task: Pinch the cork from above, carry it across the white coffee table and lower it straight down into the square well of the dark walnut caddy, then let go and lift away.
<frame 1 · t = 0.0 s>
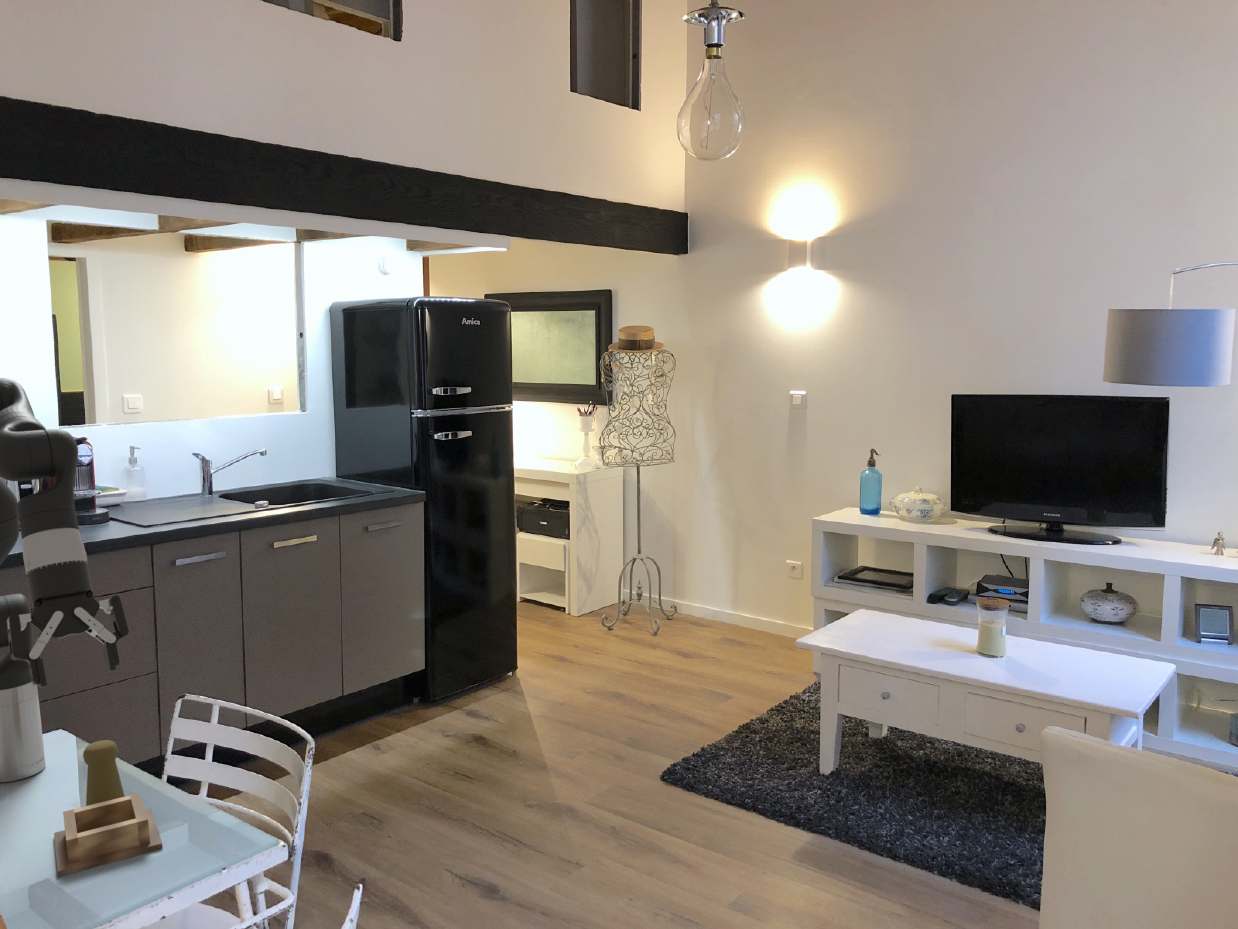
hand: (77, 679, 132), 31 cm above the table, tool tilted 20°, fingers open, 8 cm apart
shaker caddy: (107, 842, 150), on the table
cork: (106, 806, 163), on the table
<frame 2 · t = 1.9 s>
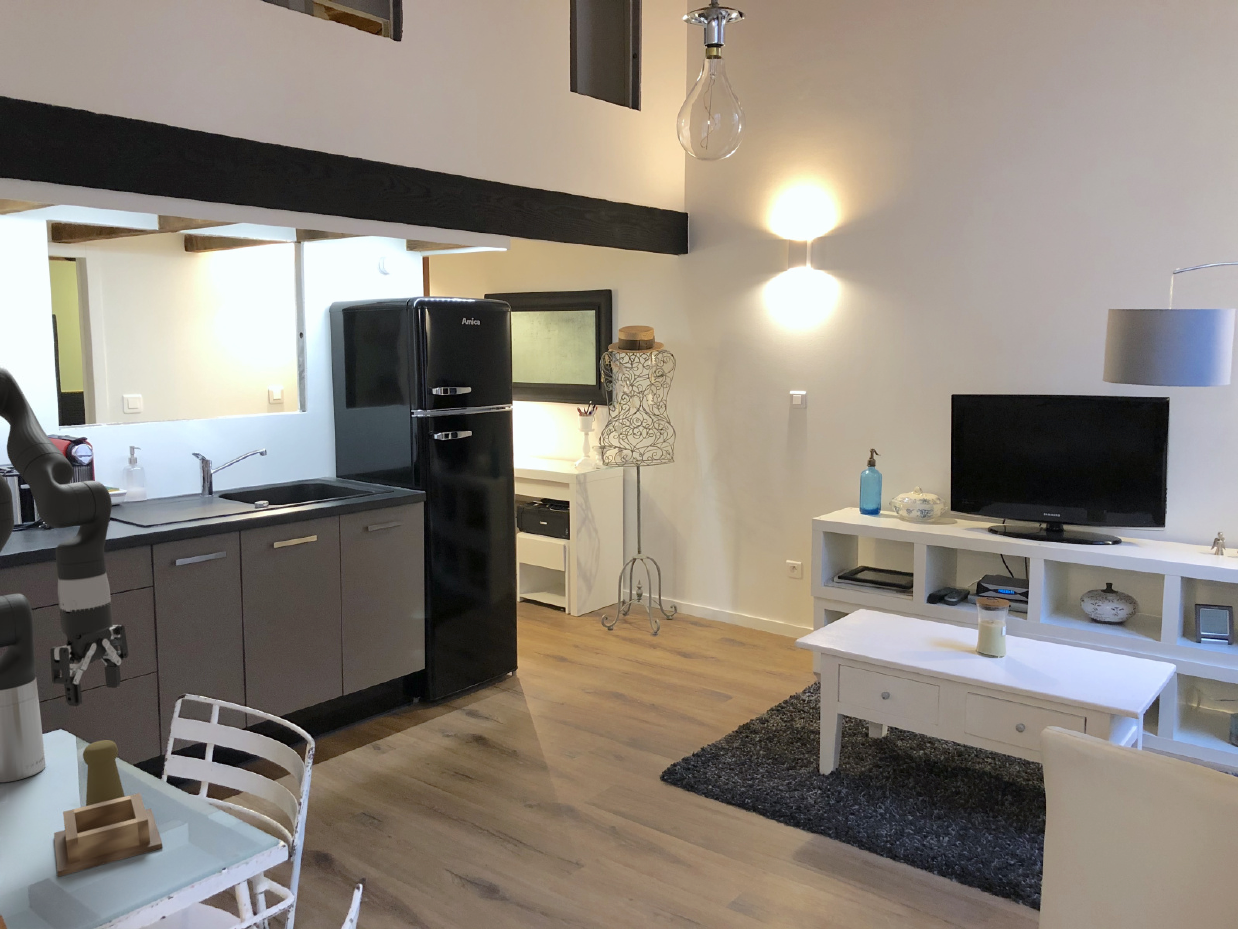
hand: (94, 696, 161), 19 cm above the table, tool pointing down, fingers open, 8 cm apart
nothing on the table moved.
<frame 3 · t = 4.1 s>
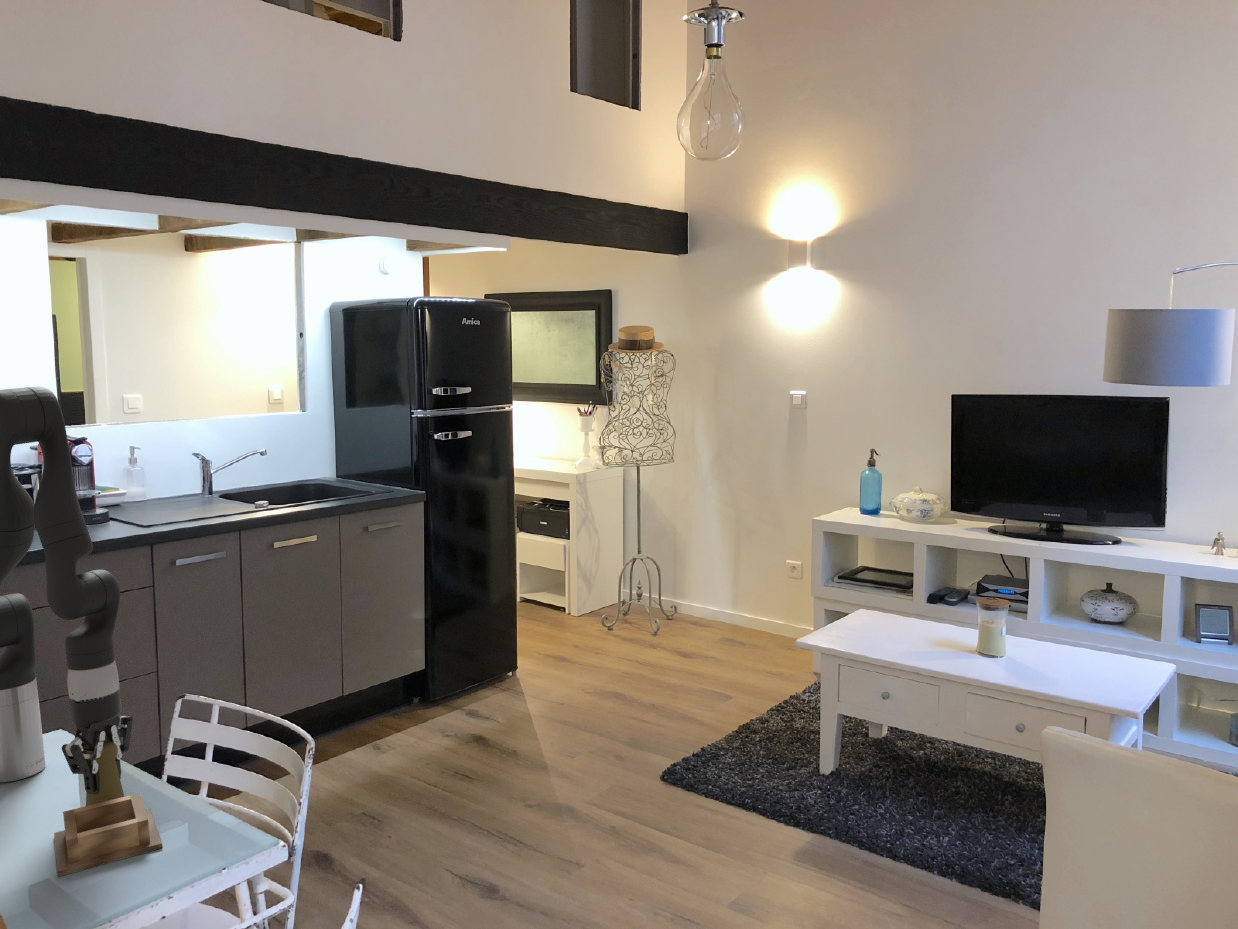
hand: (103, 786, 163), 3 cm above the table, tool pointing down, fingers closed on cork, 4 cm apart
cork: (105, 806, 163), on the table, touching gripper
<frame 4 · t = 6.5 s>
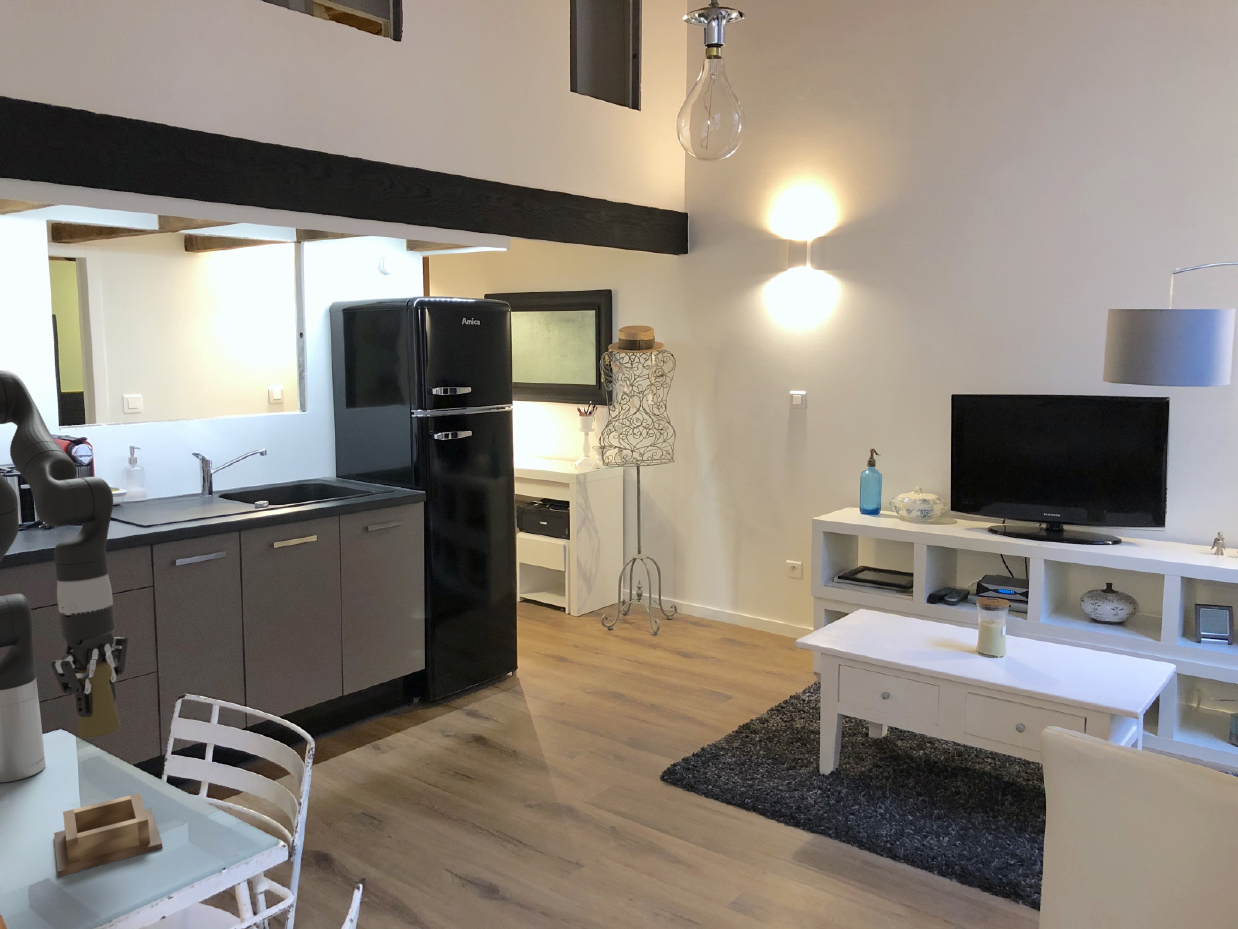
hand: (97, 710, 152), 20 cm above the table, tool pointing down, fingers closed on cork, 4 cm apart
cork: (99, 731, 152), point 17 cm above the table, touching gripper
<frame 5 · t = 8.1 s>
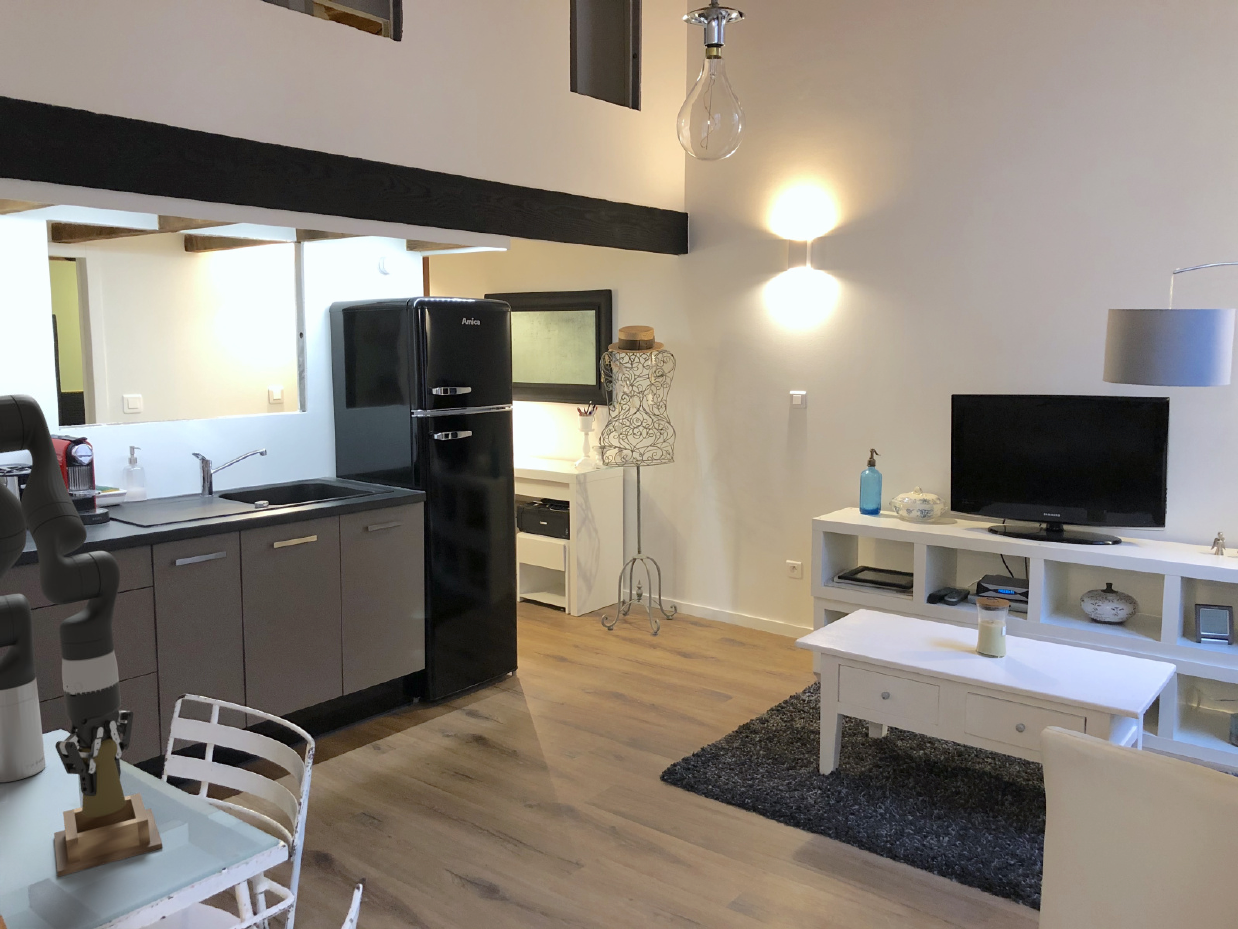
hand: (101, 787, 149), 9 cm above the table, tool pointing down, fingers closed on cork, 4 cm apart
cork: (104, 809, 149), point 6 cm above the table, touching gripper
when the fingers open (5 cm above the table, at t = 9.2 s): cork drops 1 cm, resting on shaker caddy.
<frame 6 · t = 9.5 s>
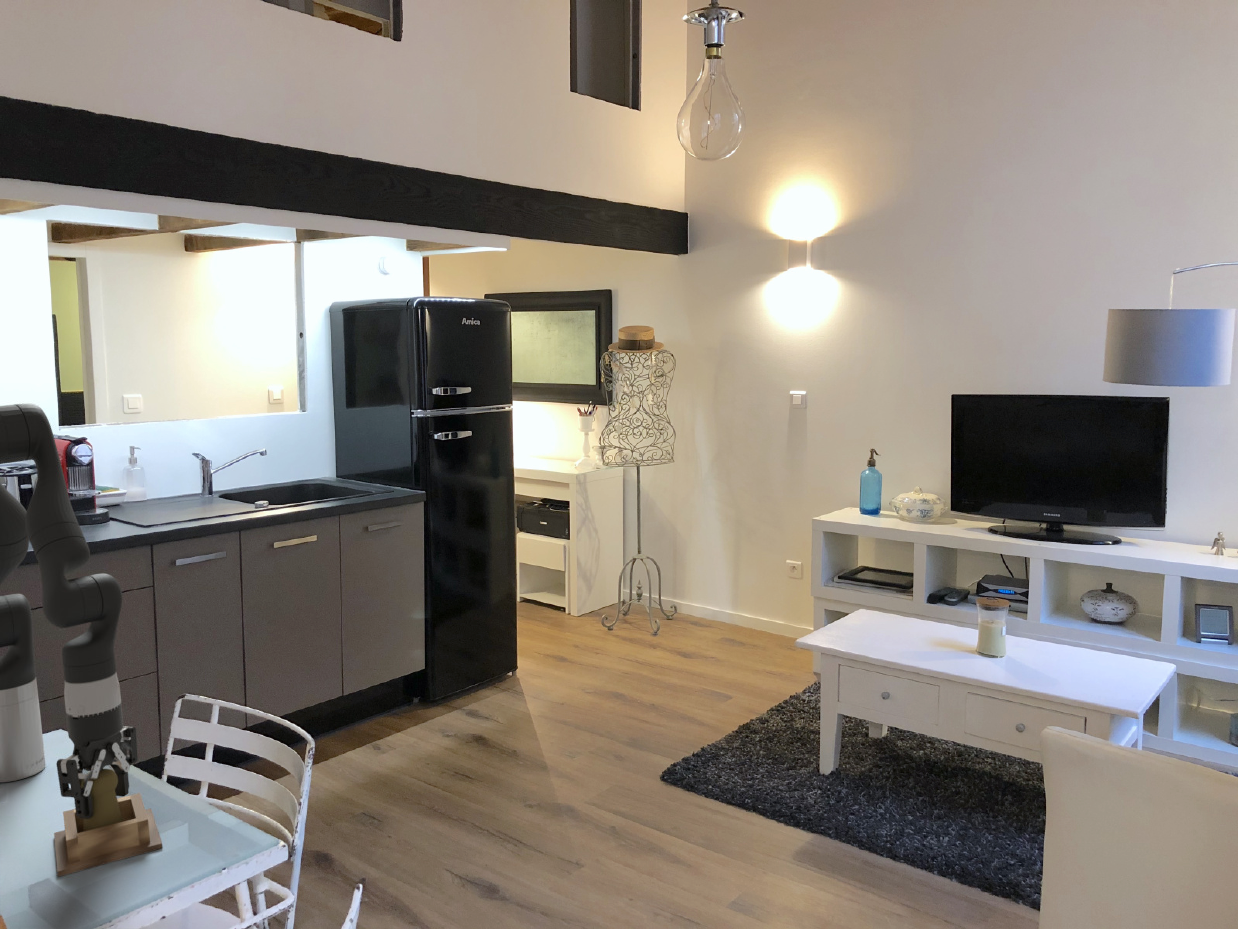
hand: (103, 806, 149), 6 cm above the table, tool pointing down, fingers open, 7 cm apart
cork: (104, 840, 149), point 1 cm above the table, touching shaker caddy
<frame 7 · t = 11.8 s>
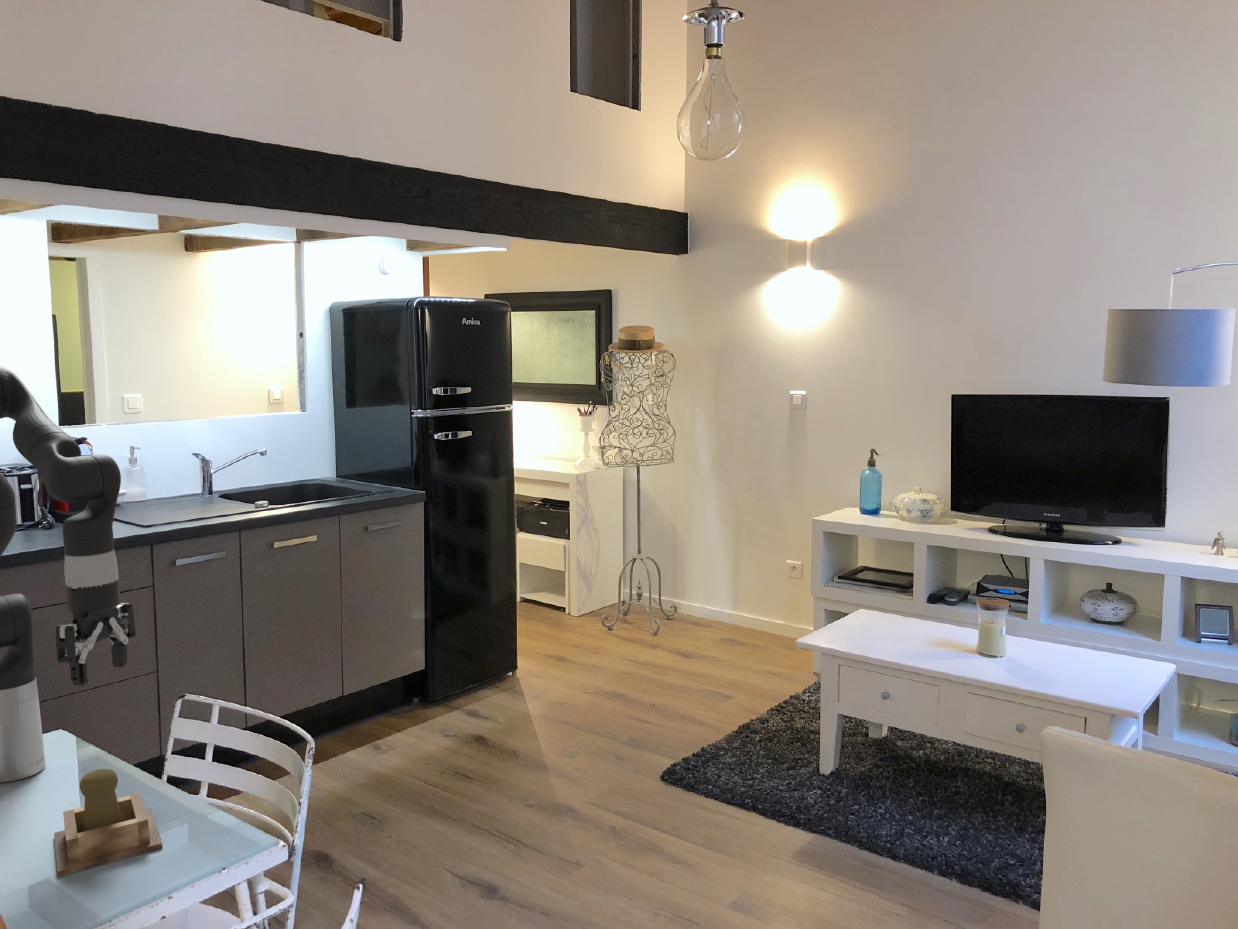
hand: (100, 675, 156), 24 cm above the table, tool pointing down, fingers open, 8 cm apart
nothing on the table moved.
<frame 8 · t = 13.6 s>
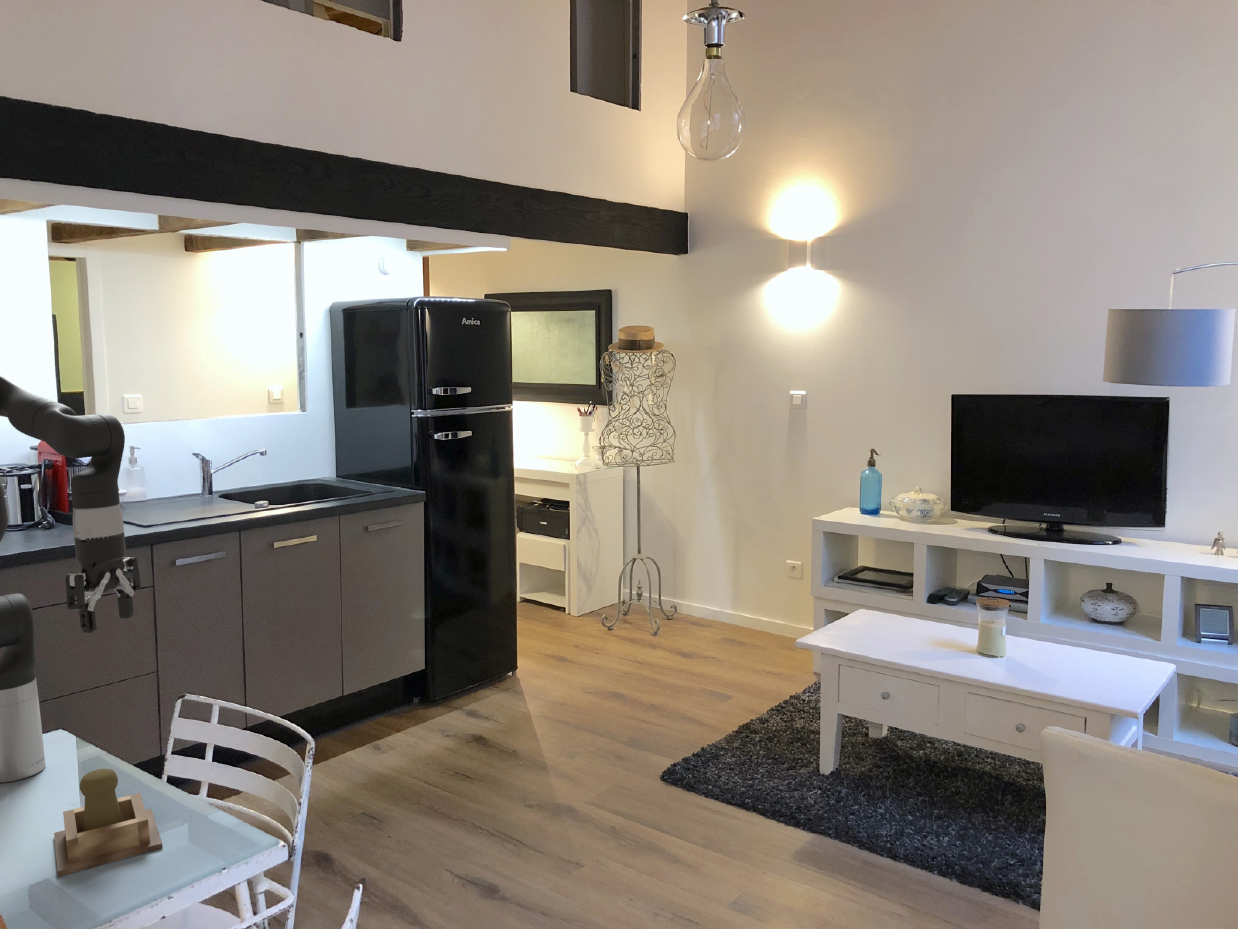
hand: (108, 624, 164), 30 cm above the table, tool pointing down, fingers open, 8 cm apart
nothing on the table moved.
at the end: cork 0.5 cm off-centre on the shaker caddy, point 0.6 cm above the shaker caddy's base; cork tilted 0°; the gripper is holding nothing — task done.
